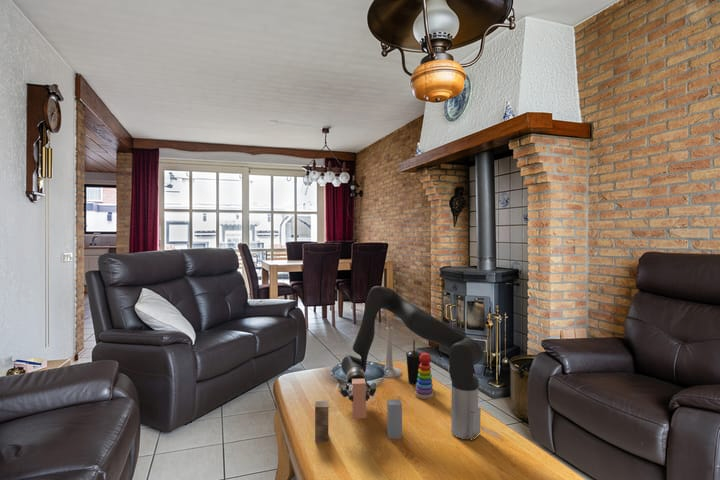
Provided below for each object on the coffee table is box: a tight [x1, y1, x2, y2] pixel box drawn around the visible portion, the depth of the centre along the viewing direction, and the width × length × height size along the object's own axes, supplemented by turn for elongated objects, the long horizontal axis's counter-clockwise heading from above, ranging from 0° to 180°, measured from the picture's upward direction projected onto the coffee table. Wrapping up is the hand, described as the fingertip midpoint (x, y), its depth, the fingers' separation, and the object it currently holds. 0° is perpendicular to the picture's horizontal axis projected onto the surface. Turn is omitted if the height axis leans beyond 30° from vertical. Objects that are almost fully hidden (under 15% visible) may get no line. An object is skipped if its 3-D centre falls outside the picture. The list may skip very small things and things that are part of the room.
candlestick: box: [384, 313, 403, 379], centre depth 204 cm, size 13×13×30 cm
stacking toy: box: [414, 352, 434, 400], centre depth 177 cm, size 8×8×19 cm
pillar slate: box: [386, 398, 403, 440], centre depth 144 cm, size 4×4×12 cm
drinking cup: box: [405, 340, 422, 385], centre depth 192 cm, size 8×8×20 cm
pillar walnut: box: [314, 400, 329, 443], centre depth 142 cm, size 4×4×12 cm
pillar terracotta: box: [351, 379, 367, 419], centre depth 142 cm, size 4×4×12 cm
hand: (359, 398), depth 140 cm, fingers closed on pillar terracotta, 4 cm apart
